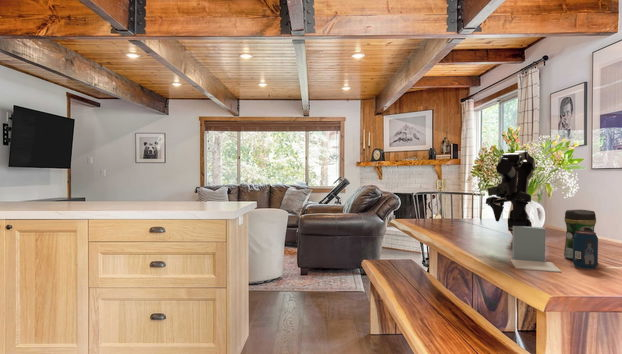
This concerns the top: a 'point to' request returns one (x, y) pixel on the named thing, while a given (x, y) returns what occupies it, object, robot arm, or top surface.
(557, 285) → the top surface
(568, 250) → the coffee jar
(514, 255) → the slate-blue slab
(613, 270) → the top surface
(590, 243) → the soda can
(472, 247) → the top surface
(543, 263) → the beige square plate
